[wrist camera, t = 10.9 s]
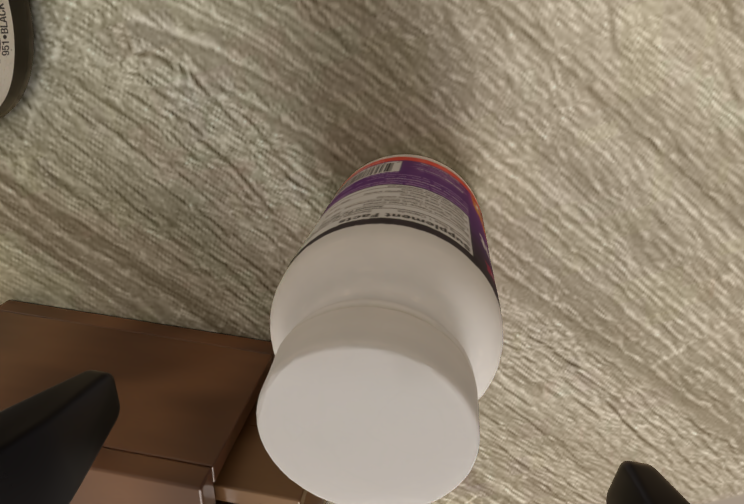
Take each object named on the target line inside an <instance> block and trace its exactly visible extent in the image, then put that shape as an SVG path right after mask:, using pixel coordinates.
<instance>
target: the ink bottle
mask: <svg viewBox="0 0 744 504" xmlns="http://www.w3.org/2000/svg"><path fill="white" fill-rule="evenodd" d="M33 53H34V36H33V23H32V16H31V10H30V5H29V0H0V118H2V117H4V116H5V115H6V114H7V113H9V112H10V111H11V110H12V109H13V108H14V107H15V106H16V105H17V103H18V102H19V100H20V99H21V97H22V96H23V94H24V92H25V89H26V87H27V84H28V82H29V78H30V74H31V69H32V63H33Z"/></svg>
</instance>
